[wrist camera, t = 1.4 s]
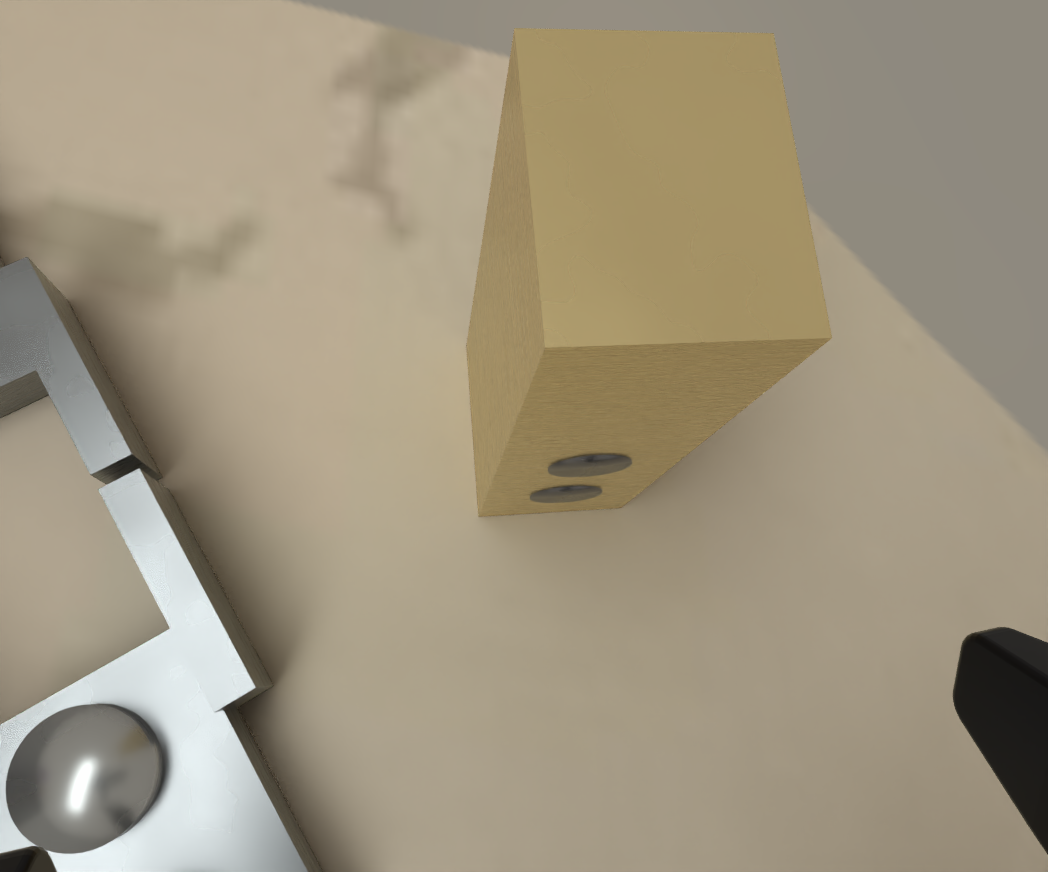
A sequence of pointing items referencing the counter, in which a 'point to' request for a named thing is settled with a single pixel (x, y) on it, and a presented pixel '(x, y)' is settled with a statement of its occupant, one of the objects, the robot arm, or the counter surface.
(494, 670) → the counter surface
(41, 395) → the chain ends
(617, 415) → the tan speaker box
